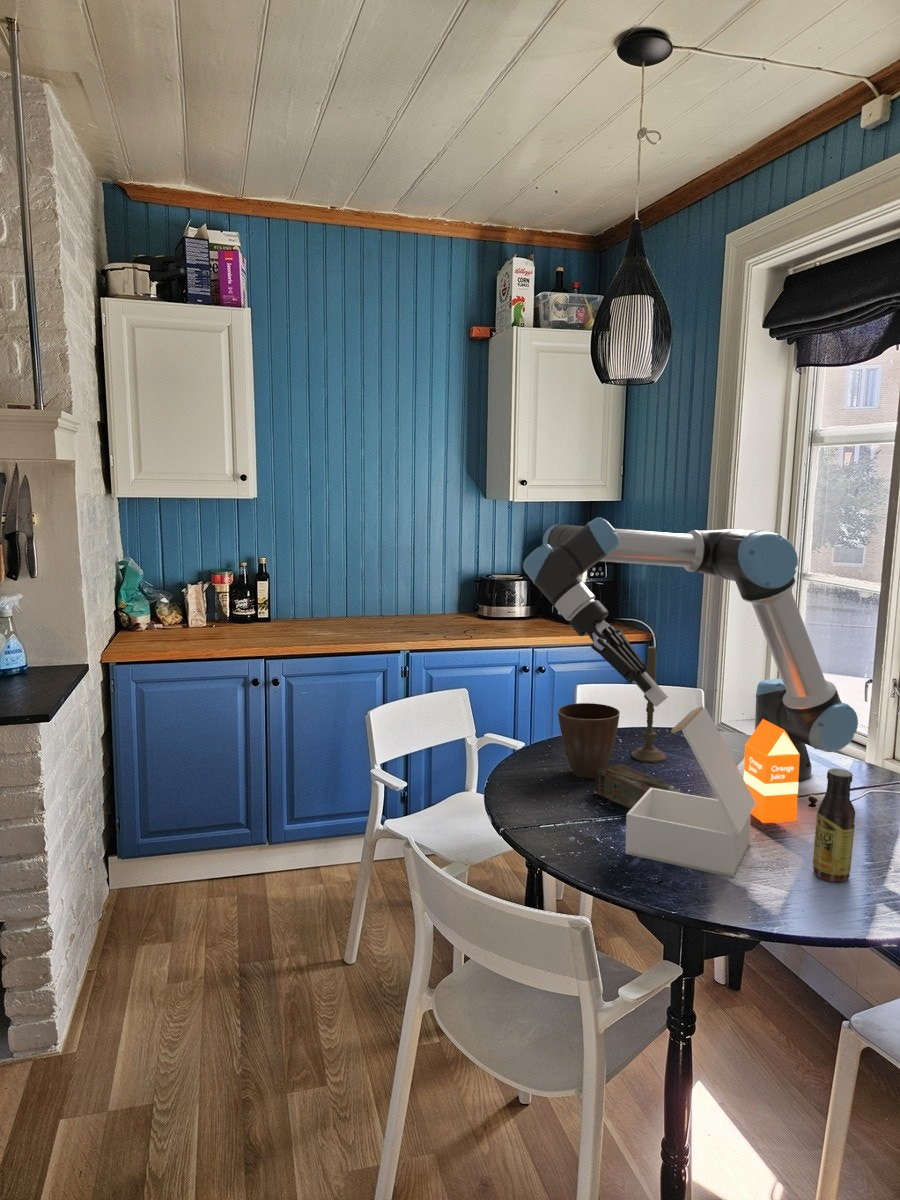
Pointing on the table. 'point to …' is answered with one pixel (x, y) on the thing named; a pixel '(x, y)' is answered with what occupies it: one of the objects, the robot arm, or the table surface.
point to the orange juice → (772, 773)
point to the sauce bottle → (835, 829)
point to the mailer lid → (718, 766)
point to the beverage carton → (626, 784)
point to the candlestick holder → (650, 721)
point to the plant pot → (588, 736)
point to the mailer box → (685, 832)
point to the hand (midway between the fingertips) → (661, 702)
